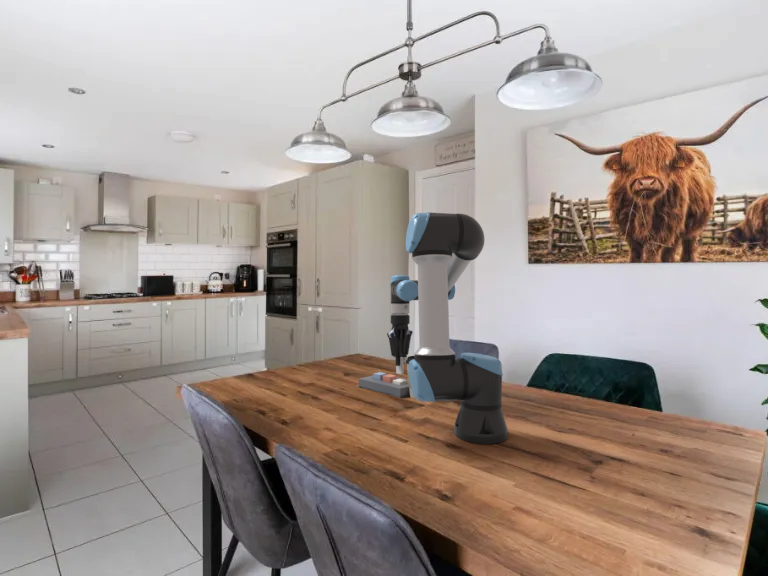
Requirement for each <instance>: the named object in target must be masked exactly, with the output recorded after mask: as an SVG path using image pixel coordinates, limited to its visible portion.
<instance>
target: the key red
mask: <svg viewBox="0 0 768 576" xmlns="http://www.w3.org/2000/svg"><path fill="white" fill-rule="evenodd" d="M397 377H398V376H397V375H396V374H391V373H389V374H387V375H384V376H383V381H385V382H389V383H391V382H393V380H396V379H397Z"/></svg>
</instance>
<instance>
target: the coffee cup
mask: <svg viewBox="0 0 768 576" xmlns="http://www.w3.org/2000/svg"><path fill="white" fill-rule="evenodd" d="M413 359H415V357H414V355H409V356H407V357H406V360H405V364H406V372H407V373H406V375H407V380H408V383H409V389H410V395H409V396H410V398H411V399H415V400H417V399H416V397H415V396H414V394H413V392H412V389H411V385H410V380H409V373H408V368H409V366H408V365H409V362H410V361H411V360H413Z"/></svg>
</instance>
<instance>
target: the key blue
mask: <svg viewBox="0 0 768 576" xmlns="http://www.w3.org/2000/svg"><path fill="white" fill-rule="evenodd" d="M372 374H373V375H372V376H373V379H377V380H383V376H384V375H388V374H387V373H385V372H382V371H379V372H374V373H372Z"/></svg>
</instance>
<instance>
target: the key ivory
mask: <svg viewBox="0 0 768 576" xmlns="http://www.w3.org/2000/svg"><path fill="white" fill-rule="evenodd" d="M403 379H404V378H403ZM403 379H396V380H393V384H398V385H403V384H406V383H407V380H408V379H407V380H403Z"/></svg>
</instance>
